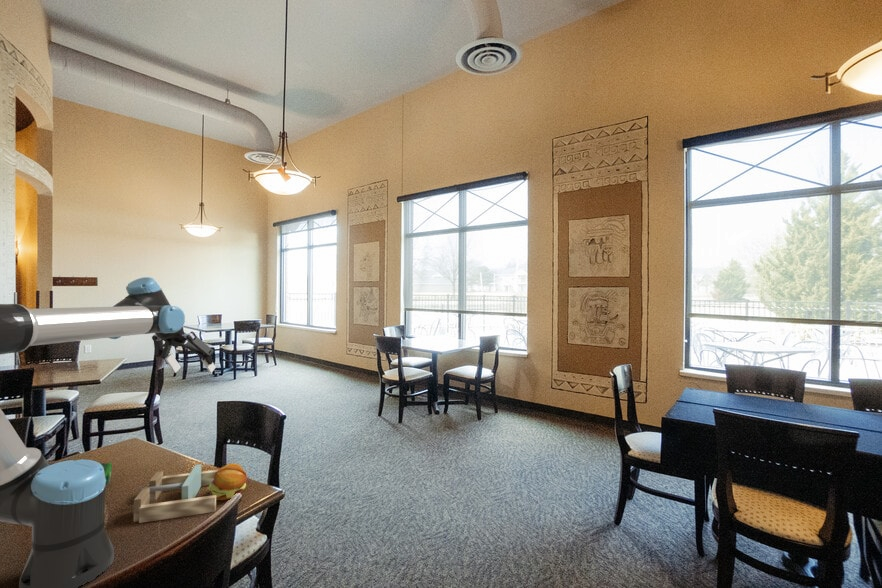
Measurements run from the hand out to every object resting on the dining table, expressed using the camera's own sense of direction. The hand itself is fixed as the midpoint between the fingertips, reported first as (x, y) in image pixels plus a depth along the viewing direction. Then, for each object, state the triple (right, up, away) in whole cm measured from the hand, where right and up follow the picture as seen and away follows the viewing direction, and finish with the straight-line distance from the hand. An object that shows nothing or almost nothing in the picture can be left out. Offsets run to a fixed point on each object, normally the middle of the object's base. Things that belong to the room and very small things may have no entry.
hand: (195, 370), depth 135 cm
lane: (+9, -35, -19) cm, 41 cm away
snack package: (-25, -35, -10) cm, 44 cm away
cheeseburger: (+20, -36, -15) cm, 44 cm away
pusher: (+5, -35, -20) cm, 41 cm away
